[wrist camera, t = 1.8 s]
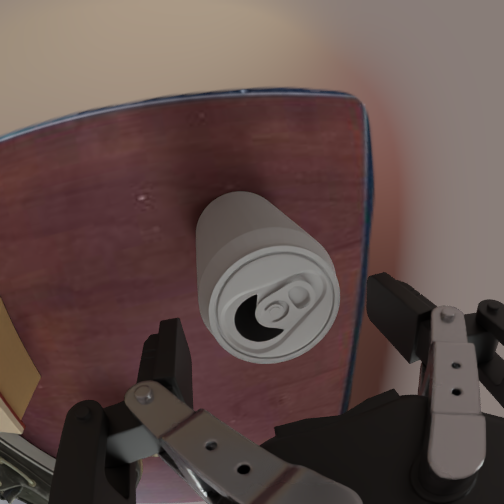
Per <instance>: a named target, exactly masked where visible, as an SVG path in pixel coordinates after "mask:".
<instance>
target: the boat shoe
mask: <svg viewBox="0 0 504 504" xmlns="http://www.w3.org/2000/svg"><path fill="white" fill-rule="evenodd" d="M55 462H56V459H54V458H53V457H51V456H49V455H48V454H46V453H44V452H43V451H41V450H39V449H38V448H36V447H35V446H33V445H32V444H30V443H29V442H28V441H26V440H25V439H23V438H22V437H21V436H19V435H18V434H15V433H7V432H0V499H1V500H7V501H8V503H9V504H11V503H12V502H13V501H14V499H15V498H17V499H18V500H21V501H23V502H25V503H27V504H48V502H49V495H50V489H51V483H52V478H53V472H54V467H55Z"/></svg>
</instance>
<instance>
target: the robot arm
mask: <svg viewBox="0 0 504 504" xmlns="http://www.w3.org/2000/svg"><path fill="white" fill-rule="evenodd" d="M367 314H368V317H369V319H370V321H371V322H372V323H373V324H374V325H375V326H376V327H377V328H378V329H379V330H380V332H381V333H382V334H383V335H384V336H385V337H386V338H387V339H388V340H389V341H390V342H391V344H392V345H393V346H394V347H395V348H396V349H397V350H398V351H399V353H400V354H401V355H402V356H403V357H404V358H405V359H406V360H407V361H408V363H409V364H411V363H413V362H415V361H418V360H421V361H422V363H421V367H420V377H419V387H418V395H402V396H399V395H398V393H397V392H396V391H395V389H392V390H389V391H386V392H384V393H382V394H379V395H376V396H374V397H371V398H368V399H366V400H365V401H363V402H362V403H360V404H359V405H357V406H355V407H354V408H352V409H350V410H349V411H347V412H346V413H344V414H342V415H338V416H330V417H320V418H309V419H303V420H300V421H296V422H292V423H289V424H285V425H281V426H276V427H274V429H275V435H276V436H275V437H273V438H271V439H269V440H267V441H266V442H264V443H263V444H261V445H260V446H259V445H257V444H255V443H254V442H252V441H251V440H249V439H247V438H246V437H244V436H243V435H241V434H240V433H238V432H237V431H235V430H234V429H232V428H231V427H229V426H228V425H226V424H225V423H223V422H222V421H220V420H219V419H218V418H216V417H215V416H213V415H212V414H210V413H209V412H208V411H206V410H204V409H199V410H198V411H194V410H193V391H192V362H191V355H190V351H189V347H188V344H187V341H186V338H185V335H184V331H183V328H182V325H181V322H180V319H179V318H174V319H168V320H162V321H160V327H159V333H158V334H153V335H150V336H149V337H148V339H147V340H146V341H145V343H144V346H143V351H142V352H143V353H142V356H141V362H140V367H139V373H138V378H137V384H135V385H133V386H132V387H131V388H129V389H128V391H127V392H126V394H125V397H124V401H122V402H120V403H118V404H115V405H112V406H109V407H106V408H102V406H101V405H100V404H99V403H98V402H96V401H93V400H85V401H81V402H79V403H77V404H75V405H74V406H73V407H72V408H71V409H70V410H69V411H68V413H67V416H66V420H65V423H64V427H63V431H62V435H61V440H60V444H59V448H58V453H57V457H56V462H55V467H54V472H53V478H52V483H51V489H50V495H49V502H48V504H136V461H137V460H140V459H143V458H146V457H149V456H152V455H154V454H157V455H158V456H159V457H160V458H161V459H162V460H163V461H164V462H165V463H166V464H167V465H168V466H169V467H170V468H171V469H173V470H174V471H175V472H176V473H177V474H178V475H179V476H180V477H181V478H182V479H183V480H184V481H185V482H186V483H187V484H188V485H189V486H190V487H191V488H192V489H193V490H194V491H195V492H196V493H197V494H198V495H199V496H200V497H201V498H202V499H203V500H204V501H205V502H206V503H208V504H504V418H502V417H498V416H494V415H490V414H487V413H483V412H481V406H480V405H481V404H480V389H479V381H480V382H481V383H482V384H483V385H484V386H485V387H486V389H487V390H488V391H489V392H490V393H491V394H492V395H493V396H494V398H495V399H496V400H497V401H498V402H499V403H500V404H501V406H502V407H503V408H504V360H503V359H502V358H501V357H500V356H499V355H498V354H497V353H496V352H495V351H496V348H497V345H498V342H500V343H501V344H502V345H503V346H504V304H502V303H501V302H499V301H495V300H484V301H481V302H480V303H479V305H478V308H477V313H472V314H465V315H464V314H463V313H462V312H461V311H460V310H459V309H457V308H455V307H452V306H439V307H437V306H436V305H434V304H433V303H432V302H431V301H429V300H428V299H427V298H425V297H424V296H423V295H422V294H421V295H420V293H419V292H418V291H416V290H414V288H412V287H411V286H410V285H408V284H407V283H404V282H401V281H398V280H395V279H394V278H393V277H391V276H390V275H389V274H387V273H385V272H383V273H379V274H375V275H372V276H369V277H368V280H367Z"/></svg>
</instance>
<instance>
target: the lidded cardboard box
mask: <svg viewBox="0 0 504 504" xmlns="http://www.w3.org/2000/svg"><path fill="white" fill-rule="evenodd" d="M40 378H41V376H40V374H39V373H38V371H37V369H36V367H35V366H34V364H33V362H32V360H31V359H30V357H29V355H28V353H27V351H26V349H25V348H24V346H23V344H22V342H21V340H20V338H19V336H18V334H17V332H16V330H15V328H14V326H13V324H12V322H11V320H10V317H9V315H8V313H7V311H6V309H5V306H4V304H3V302H2V299H1V297H0V432H7V433H15V434H22V433H23V430H24V429H25V427H26V426H25V425H24V423H23V422H22V421H21V419H22V417H23V415H24V412H25V410H26V408H27V405H28V403H29V401H30V399H31V397H32V395H33V392H34V390H35V388H36V386H37V384H38V382H39V380H40Z"/></svg>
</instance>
